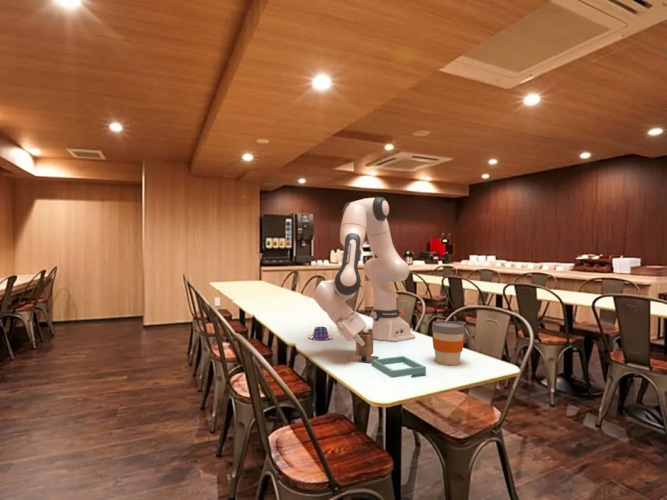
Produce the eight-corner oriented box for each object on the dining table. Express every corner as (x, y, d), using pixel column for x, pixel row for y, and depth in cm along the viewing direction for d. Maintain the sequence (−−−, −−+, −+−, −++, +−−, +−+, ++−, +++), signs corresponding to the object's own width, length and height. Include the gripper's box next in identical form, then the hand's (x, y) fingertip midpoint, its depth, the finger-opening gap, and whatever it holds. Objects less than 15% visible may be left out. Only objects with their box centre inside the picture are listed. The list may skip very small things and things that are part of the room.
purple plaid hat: (327, 334, 197) (327, 324, 197) (336, 340, 186) (336, 329, 186) (304, 336, 192) (305, 325, 192) (313, 342, 181) (313, 331, 181)
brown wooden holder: (359, 351, 156) (359, 326, 156) (373, 352, 154) (373, 327, 154) (355, 355, 151) (356, 329, 151) (369, 356, 149) (370, 330, 149)
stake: (355, 356, 159) (355, 341, 159) (379, 359, 156) (379, 344, 156) (348, 363, 149) (348, 348, 149) (373, 366, 146) (374, 350, 146)
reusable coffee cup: (424, 358, 157) (425, 322, 157) (449, 355, 162) (450, 320, 162) (445, 368, 146) (446, 328, 145) (471, 364, 151) (472, 326, 150)
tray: (403, 363, 150) (403, 356, 150) (425, 375, 137) (425, 366, 137) (371, 367, 145) (371, 359, 145) (391, 380, 132) (392, 371, 132)
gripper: (340, 315, 144) (365, 344, 142) (354, 306, 164) (377, 331, 161) (328, 326, 146) (353, 354, 143) (344, 316, 165) (366, 341, 163)
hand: (366, 342), depth 152 cm, fingers closed on brown wooden holder, 6 cm apart
